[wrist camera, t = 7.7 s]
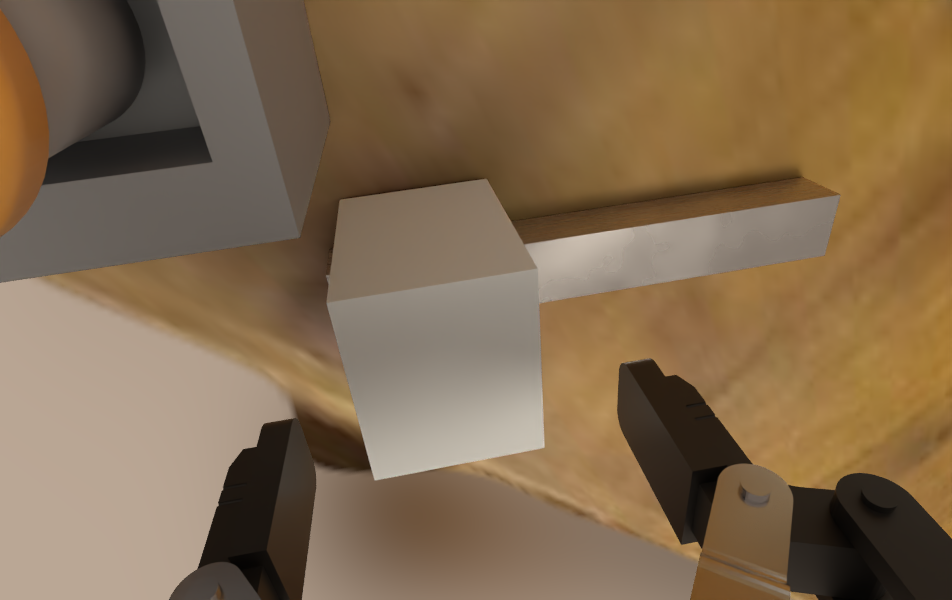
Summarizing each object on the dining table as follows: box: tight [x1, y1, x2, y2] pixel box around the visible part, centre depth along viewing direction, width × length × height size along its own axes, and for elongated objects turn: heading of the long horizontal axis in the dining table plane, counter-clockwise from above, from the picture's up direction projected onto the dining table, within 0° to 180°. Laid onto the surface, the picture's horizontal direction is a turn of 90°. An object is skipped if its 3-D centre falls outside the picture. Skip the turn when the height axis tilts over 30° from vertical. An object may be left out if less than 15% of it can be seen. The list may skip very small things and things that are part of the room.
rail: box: [326, 177, 840, 303], centre depth 20 cm, size 18×2×2 cm, turn 96°
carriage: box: [326, 179, 544, 480], centre depth 17 cm, size 5×6×7 cm
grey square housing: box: [0, 0, 330, 283], centre depth 12 cm, size 6×7×9 cm
